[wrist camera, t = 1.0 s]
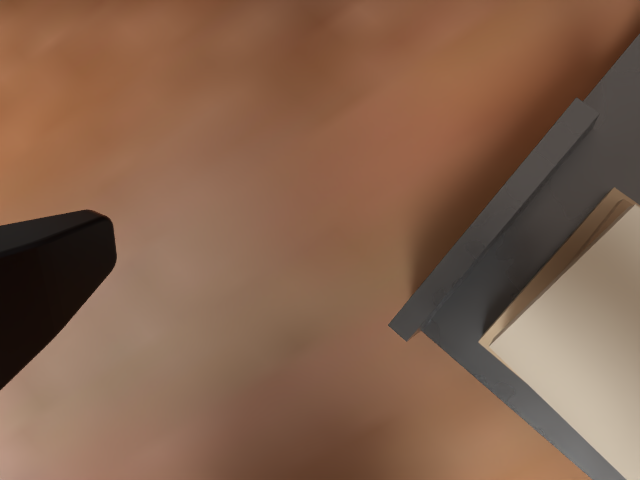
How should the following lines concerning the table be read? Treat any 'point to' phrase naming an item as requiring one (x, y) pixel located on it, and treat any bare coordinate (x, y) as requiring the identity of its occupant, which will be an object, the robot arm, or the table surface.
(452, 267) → the rack
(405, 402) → the table surface
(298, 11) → the table surface
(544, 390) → the offcut stack
